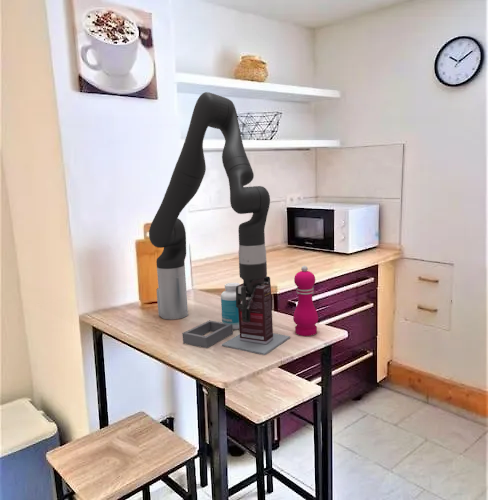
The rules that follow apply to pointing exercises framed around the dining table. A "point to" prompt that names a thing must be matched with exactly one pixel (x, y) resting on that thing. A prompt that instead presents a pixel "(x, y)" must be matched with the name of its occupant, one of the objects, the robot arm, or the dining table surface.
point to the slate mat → (256, 344)
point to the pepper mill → (305, 304)
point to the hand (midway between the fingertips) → (255, 317)
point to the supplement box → (258, 317)
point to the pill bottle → (230, 305)
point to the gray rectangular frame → (197, 339)
